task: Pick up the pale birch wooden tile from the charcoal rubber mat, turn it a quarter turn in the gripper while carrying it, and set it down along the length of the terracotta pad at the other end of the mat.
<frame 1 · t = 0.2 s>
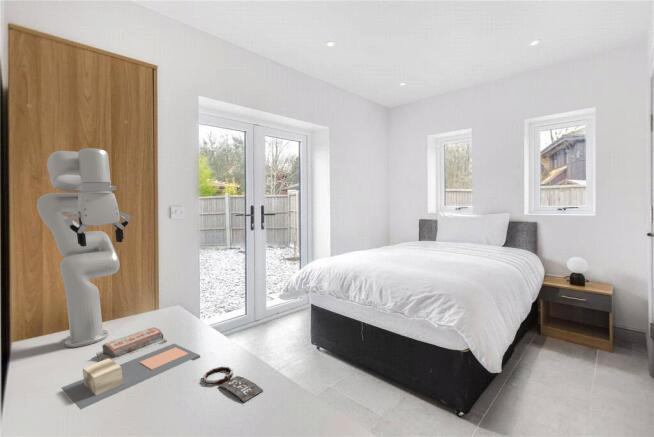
hand: (102, 244, 98), 36 cm above the table, tool pointing down, fingers open, 9 cm apart
birch tile: (103, 383, 84), point 1 cm above the table, touching mat
keychain: (230, 387, 81), on the table
mat: (136, 372, 90), on the table
packaged product: (133, 350, 106), on the table
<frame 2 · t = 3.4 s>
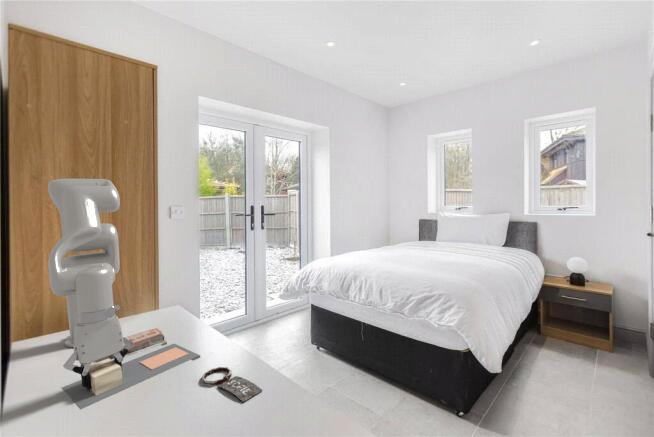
hand: (103, 381, 83), 1 cm above the table, tool pointing down, fingers closed on birch tile, 6 cm apart
birch tile: (103, 383, 84), point 1 cm above the table, touching gripper, mat
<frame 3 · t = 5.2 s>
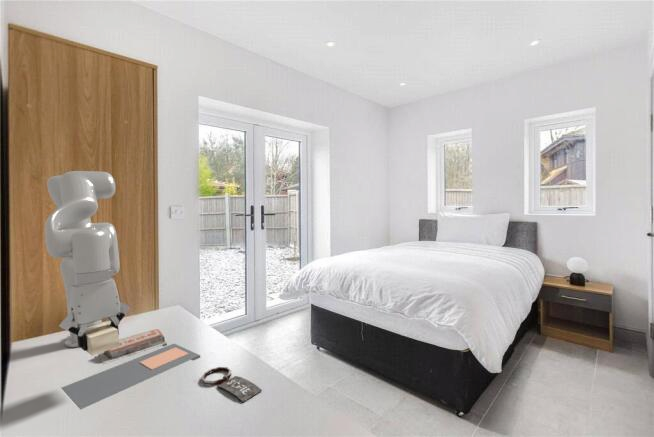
hand: (99, 343, 83), 11 cm above the table, tool pointing down, fingers closed on birch tile, 6 cm apart
birch tile: (99, 346, 83), point 11 cm above the table, touching gripper
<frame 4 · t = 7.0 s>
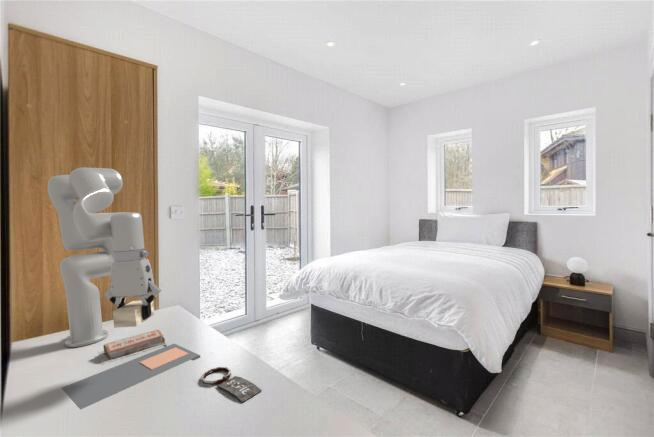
hand: (135, 318, 90), 15 cm above the table, tool pointing down, fingers closed on birch tile, 6 cm apart
birch tile: (135, 320, 90), point 15 cm above the table, touching gripper
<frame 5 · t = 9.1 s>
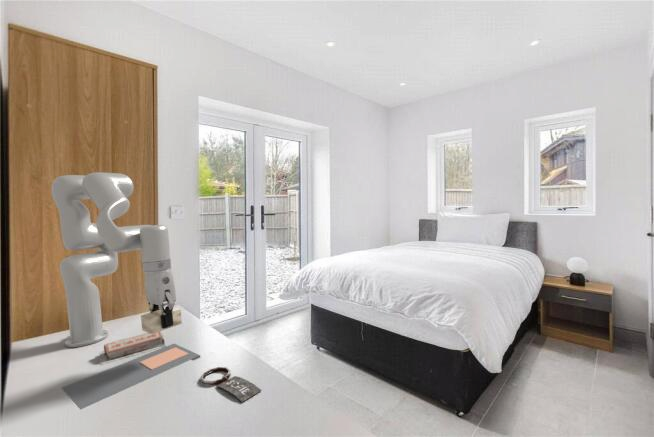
hand: (162, 324, 96), 11 cm above the table, tool pointing down, fingers closed on birch tile, 6 cm apart
birch tile: (162, 326, 96), point 10 cm above the table, touching gripper
when the fingers open (3 cm above the table, at t = 10.9 s): birch tile drops 1 cm, resting on mat.
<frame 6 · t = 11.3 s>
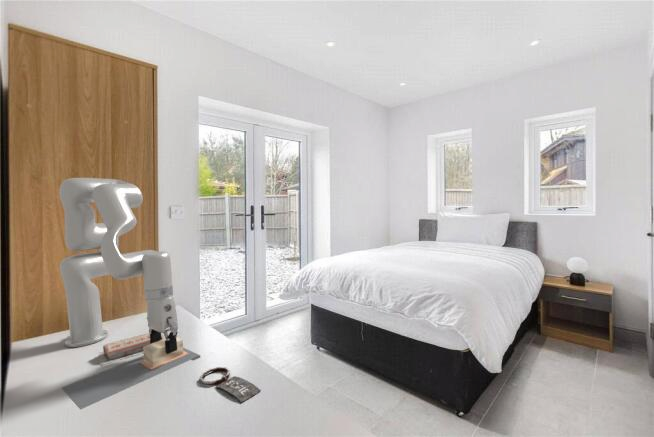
hand: (163, 348, 96), 4 cm above the table, tool pointing down, fingers open, 9 cm apart
birch tile: (164, 357, 96), point 1 cm above the table, touching mat
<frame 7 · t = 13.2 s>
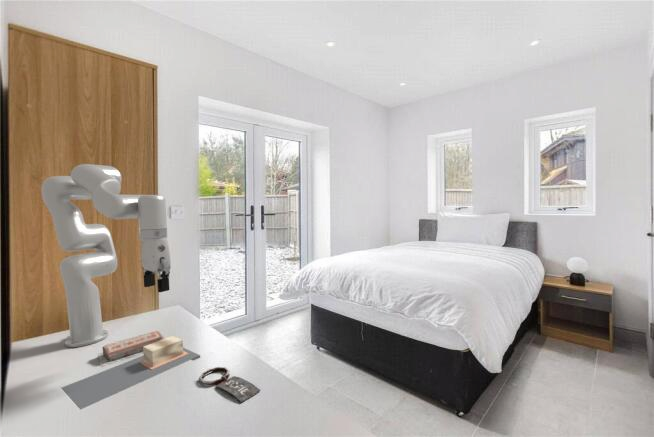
hand: (156, 288, 99), 21 cm above the table, tool pointing down, fingers open, 9 cm apart
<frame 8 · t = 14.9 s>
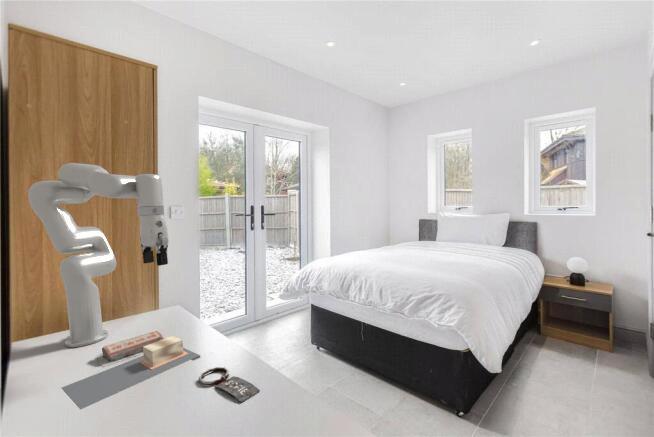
hand: (155, 263, 104), 28 cm above the table, tool pointing down, fingers open, 9 cm apart
at the end: birch tile 0.1 cm from the target spot, point 0.8 cm above the table; birch tile tilted 0°; the gripper is holding nothing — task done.
